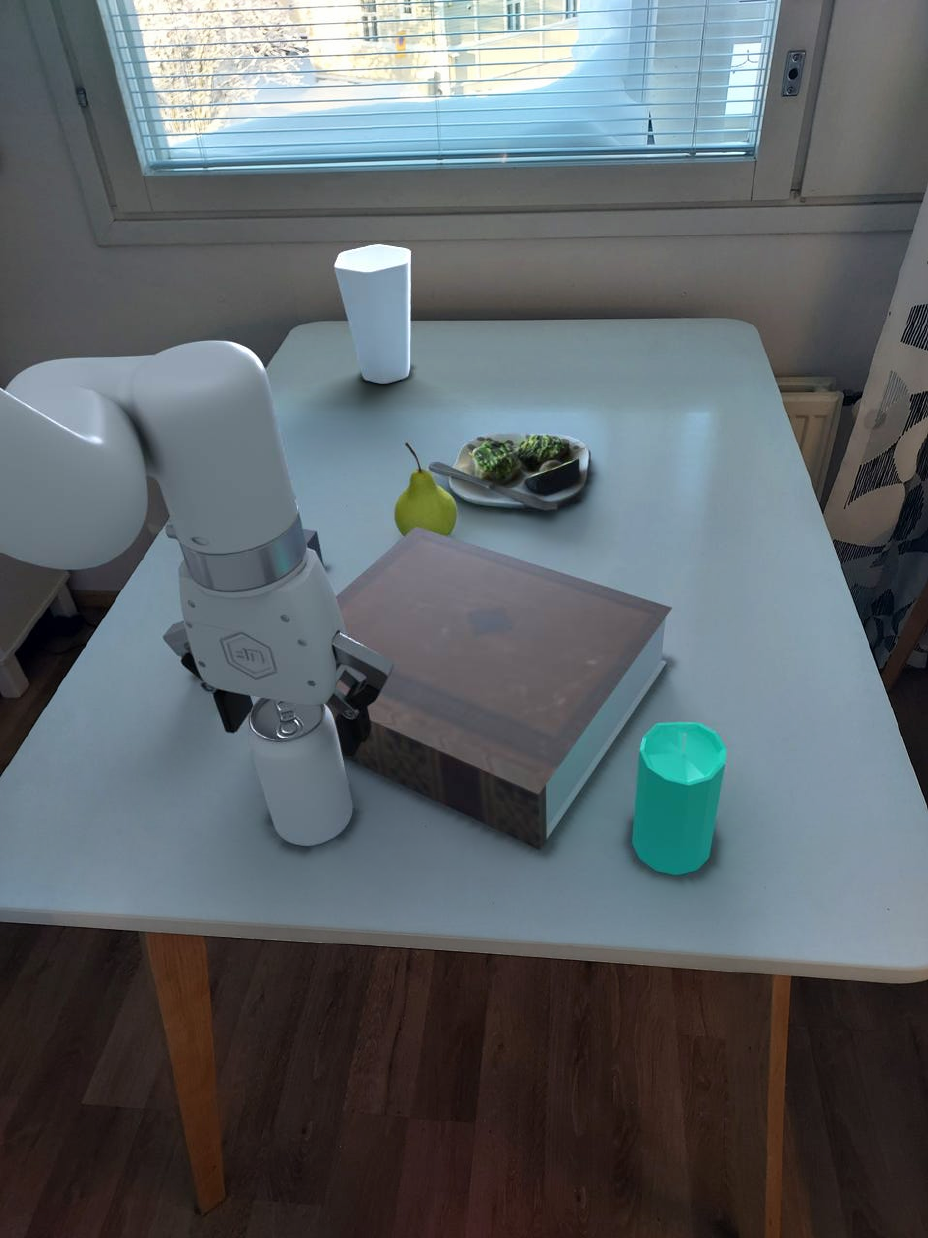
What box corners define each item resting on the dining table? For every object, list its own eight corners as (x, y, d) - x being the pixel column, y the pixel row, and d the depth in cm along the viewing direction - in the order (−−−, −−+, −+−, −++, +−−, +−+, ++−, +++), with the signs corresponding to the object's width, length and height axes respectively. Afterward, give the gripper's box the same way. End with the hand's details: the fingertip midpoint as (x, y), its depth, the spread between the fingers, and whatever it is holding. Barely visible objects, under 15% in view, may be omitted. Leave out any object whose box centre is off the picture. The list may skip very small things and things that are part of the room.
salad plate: (413, 513, 109) (409, 479, 106) (447, 439, 122) (445, 407, 119) (578, 525, 105) (578, 490, 102) (595, 447, 118) (596, 414, 115)
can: (278, 858, 72) (246, 754, 65) (269, 796, 77) (238, 693, 70) (360, 837, 73) (337, 732, 66) (346, 777, 78) (323, 673, 71)
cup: (417, 388, 135) (405, 269, 124) (348, 391, 135) (330, 273, 124) (423, 356, 143) (412, 242, 132) (358, 358, 144) (342, 245, 133)
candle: (723, 830, 72) (742, 721, 64) (694, 888, 68) (711, 780, 60) (650, 800, 74) (661, 692, 67) (618, 854, 71) (626, 747, 63)
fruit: (471, 539, 104) (465, 444, 97) (427, 566, 101) (416, 470, 93) (430, 517, 108) (420, 424, 101) (385, 542, 105) (372, 448, 97)
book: (539, 849, 71) (538, 794, 67) (268, 721, 84) (253, 668, 80) (666, 662, 87) (672, 607, 83) (421, 577, 99) (415, 526, 95)
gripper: (94, 562, 58) (171, 747, 69) (346, 599, 53) (386, 792, 64) (159, 497, 63) (221, 678, 74) (393, 525, 58) (423, 715, 69)
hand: (297, 731), depth 69 cm, fingers open, 9 cm apart
